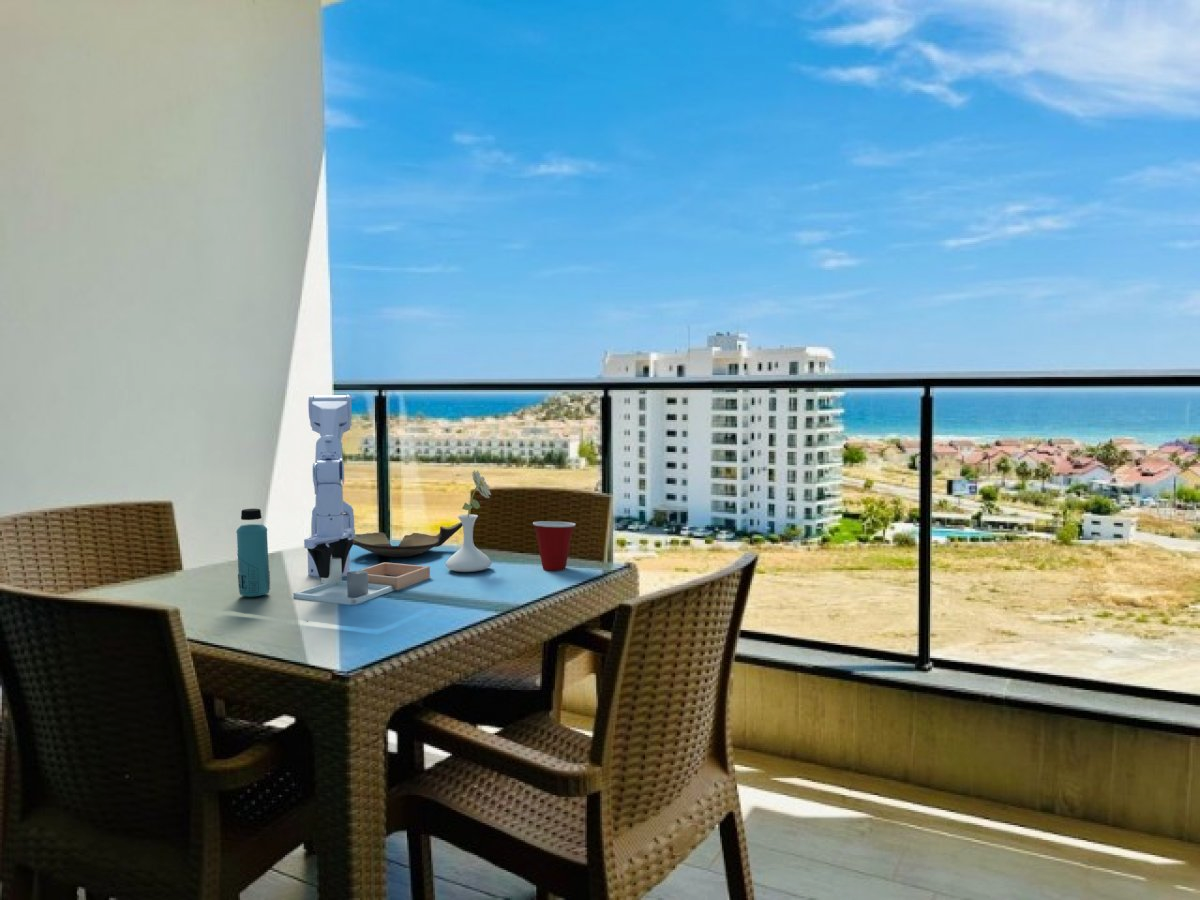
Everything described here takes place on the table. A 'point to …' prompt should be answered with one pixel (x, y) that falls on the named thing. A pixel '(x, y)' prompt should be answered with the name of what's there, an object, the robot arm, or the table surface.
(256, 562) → the beverage bottle
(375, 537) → the dark brown curved bowl
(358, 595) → the grey plastic cylinder
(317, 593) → the parts tray
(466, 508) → the flower in vase
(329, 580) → the pale grey cylinder
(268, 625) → the table surface
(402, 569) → the terracotta dish
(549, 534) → the plastic cup
